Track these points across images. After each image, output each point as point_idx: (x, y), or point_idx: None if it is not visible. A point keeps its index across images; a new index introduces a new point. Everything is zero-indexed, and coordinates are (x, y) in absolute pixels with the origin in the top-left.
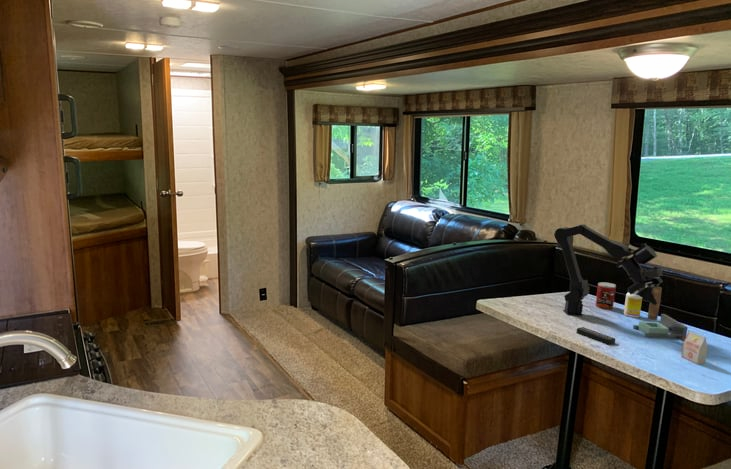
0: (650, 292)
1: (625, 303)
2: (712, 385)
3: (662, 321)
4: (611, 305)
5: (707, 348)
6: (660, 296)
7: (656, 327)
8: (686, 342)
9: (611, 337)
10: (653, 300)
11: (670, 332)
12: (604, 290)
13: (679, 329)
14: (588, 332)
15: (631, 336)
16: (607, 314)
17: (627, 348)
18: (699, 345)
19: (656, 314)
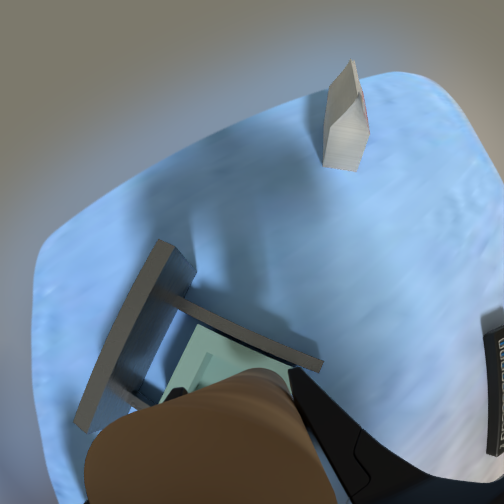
0: (378, 478)
1: None
2: (404, 82)
3: (111, 414)
4: None
5: (329, 87)
6: (216, 383)
7: (251, 364)
8: (368, 124)
9: (499, 346)
10: (326, 402)
11: (153, 350)
12: None
13: (168, 284)
14: None
15: (373, 392)
16: None
17: (477, 283)
18: (361, 88)
19: (262, 370)
